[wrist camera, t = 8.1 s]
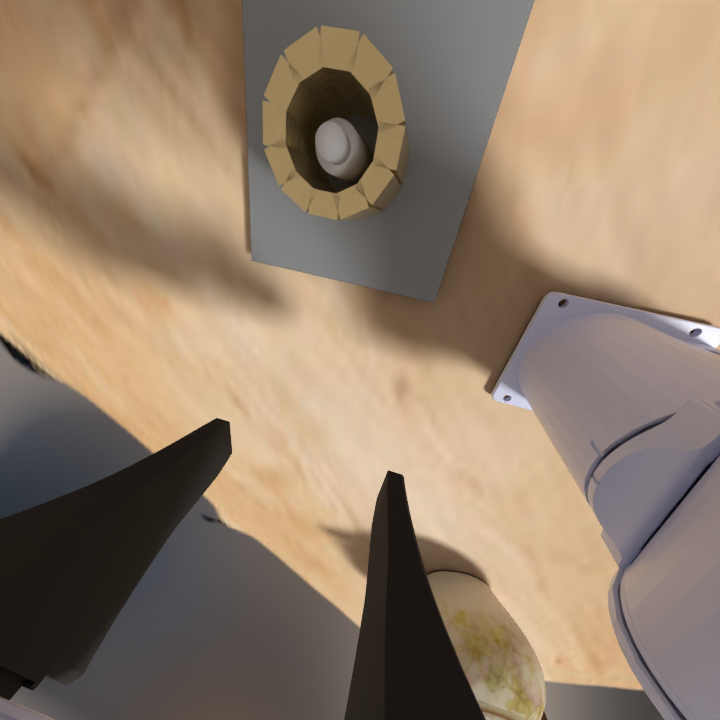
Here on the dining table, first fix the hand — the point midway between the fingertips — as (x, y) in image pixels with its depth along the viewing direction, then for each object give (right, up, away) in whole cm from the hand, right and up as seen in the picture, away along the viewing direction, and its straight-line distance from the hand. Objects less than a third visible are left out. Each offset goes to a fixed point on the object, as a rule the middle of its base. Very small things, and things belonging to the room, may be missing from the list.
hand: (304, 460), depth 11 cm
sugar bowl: (+15, -25, +22) cm, 36 cm away
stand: (+2, +15, +3) cm, 15 cm away
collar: (+2, +15, +2) cm, 15 cm away
